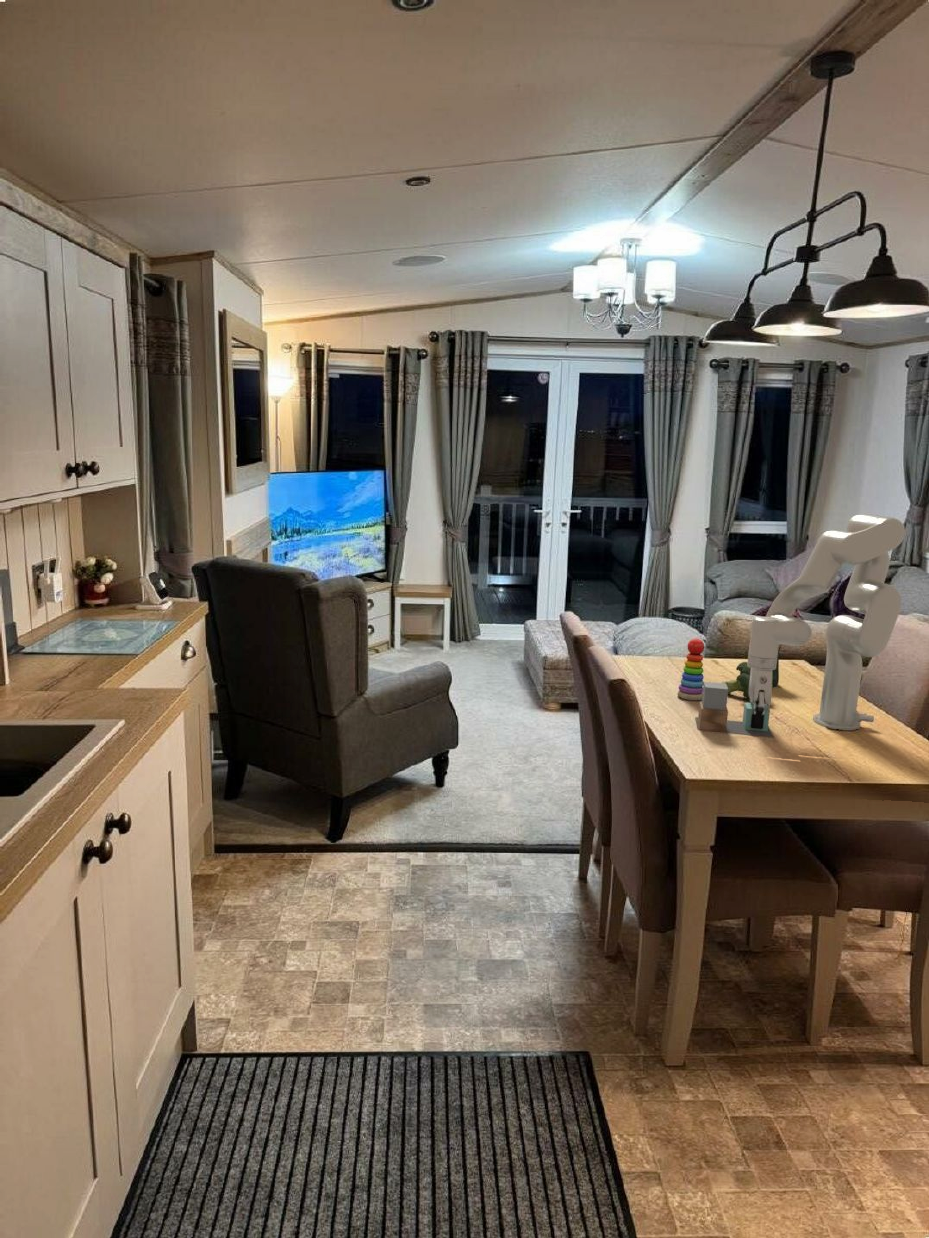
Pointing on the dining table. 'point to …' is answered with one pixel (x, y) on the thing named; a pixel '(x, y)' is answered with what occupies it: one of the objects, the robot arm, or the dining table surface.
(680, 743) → the dining table surface
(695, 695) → the stacking toy
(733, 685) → the vegetable
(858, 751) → the dining table surface
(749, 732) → the mat
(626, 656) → the dining table surface
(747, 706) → the teal cube
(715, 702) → the tower mid
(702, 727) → the tower base
